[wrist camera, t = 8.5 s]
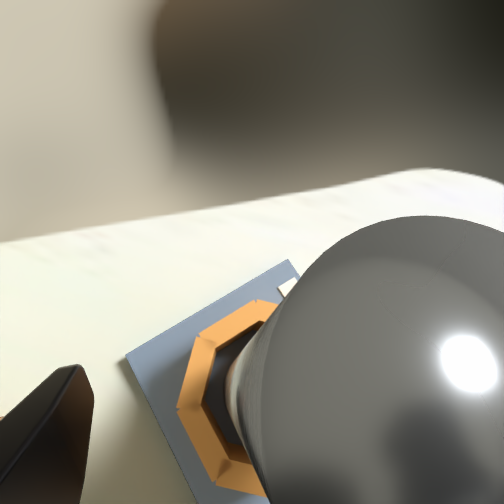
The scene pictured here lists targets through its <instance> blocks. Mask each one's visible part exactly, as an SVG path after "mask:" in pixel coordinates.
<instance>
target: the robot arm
mask: <svg viewBox="0 0 504 504" xmlns="http://www.w3.org/2000/svg"><path fill="white" fill-rule="evenodd" d="M93 408H94V394H93V391H92V388H91V385H90V383H89V380H88V378H87V375H86V373H85V370H84V368H83V367H82V366H81V365H79V364H75V365H70V366H64V367H60V368H58V369H57V370H55V371H54V372H53V373H52V374H51V375H50V376H49V377H48V378H46V379H45V380H44V381H43V382H42V383H41V384H40V385H39V386H38V387H37V388H35V389H34V390H33V391H32V392H31V393H30V394H29V395H28V396H27V397H26V398H24V399H23V400H22V401H21V402H20V403H19V404H18V405H17V406H16V407H15V408H13V409H12V410H11V411H10V412H9V413H8V414H7V415H6V416H5V417H3V418H2V419H1V420H0V504H79V503H80V498H81V494H82V489H83V484H84V479H85V472H86V465H87V457H88V449H89V441H90V433H91V424H92V416H93Z"/></svg>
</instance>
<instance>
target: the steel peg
mask: <svg viewBox="0 0 504 504" xmlns="http://www.w3.org/2000/svg"><path fill="white" fill-rule="evenodd" d="M223 397H224V402H225V406H226V408H227V411H228V413H229V415H230V417H231V420H232V422H233V424H234V426H235V428H236V430H237V433H238V435H239V437H240V439H241V441H242V444H243V446H244V448H245V450H246V452H247V454H248V457H249V459H250V461H251V463H252V465H253V468H254V470H255V472H256V474H257V476H258V478H259V481H260V483H261V485H262V487H263V489H264V492H265V494H266V496H267V498H268V500H269V502H270V504H504V233H503V232H501V231H498V230H496V229H493V228H491V227H488V226H484V225H481V224H477V223H474V222H470V221H467V220H461V219H455V218H449V217H441V216H410V217H400V218H395V219H390V220H386V221H381V222H378V223H375V224H373V225H370V226H367V227H364V228H362V229H359V230H358V231H356V232H354V233H352V234H350V235H348V236H346V237H344V238H343V239H341V240H340V241H338V242H337V243H336V244H334V245H333V246H332V247H330V248H329V249H328V250H326V251H325V252H324V253H323V254H322V255H321V256H320V257H319V258H318V259H317V260H316V261H315V262H314V263H313V264H312V265H311V266H310V267H309V268H308V269H307V270H306V271H305V273H304V274H303V275H302V276H301V278H300V279H299V280H298V281H297V283H296V284H295V285H294V286H293V288H292V289H291V290H290V291H289V293H288V294H287V295H286V296H285V298H284V299H283V300H282V301H281V303H280V304H279V305H278V306H277V308H276V309H275V310H274V311H273V313H272V314H271V315H270V316H269V318H268V319H267V320H266V321H265V323H264V324H263V325H262V326H261V328H260V329H259V330H258V331H257V333H256V334H255V335H254V336H253V338H252V339H251V340H250V341H249V343H248V344H247V345H246V346H245V348H244V349H243V350H242V351H241V353H240V354H239V355H238V356H237V358H236V359H235V360H234V361H233V363H232V364H231V365H230V367H229V369H228V371H227V373H226V376H225V379H224V384H223Z"/></svg>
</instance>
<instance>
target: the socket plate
mask: <svg viewBox="0 0 504 504" xmlns="http://www.w3.org/2000/svg"><path fill="white" fill-rule="evenodd" d="M300 278H301V277H300V276H299V274H298V273H297V271H296V270H295V269H294V267H293V266H292V264H291V263H290V261H289V260H288V259H287V260H285V261H283V262H282V263H280V264H278V265H276V266H275V267H273V268H271V269H270V270H268V271H266V272H265V273H263V274H261V275H260V276H258V277H256V278H254V279H253V280H251V281H249V282H248V283H246V284H244V285H243V286H241V287H239V288H238V289H236V290H234V291H232V292H231V293H229V294H227V295H226V296H224V297H222V298H221V299H219V300H217V301H216V302H214V303H212V304H210V305H209V306H207V307H205V308H204V309H202V310H200V311H199V312H197V313H195V314H194V315H192V316H190V317H188V318H187V319H185V320H183V321H182V322H180V323H178V324H177V325H175V326H173V327H171V328H170V329H168V330H166V331H165V332H163V333H161V334H160V335H158V336H156V337H155V338H153V339H151V340H149V341H148V342H146V343H144V344H143V345H141V346H139V347H138V348H136V349H134V350H133V351H131V352H129V353H127V354H126V358H127V360H128V362H129V364H130V366H131V368H132V370H133V372H134V374H135V376H136V378H137V380H138V382H139V384H140V386H141V388H142V390H143V392H144V394H145V396H146V398H147V401H148V403H149V405H150V407H151V409H152V411H153V413H154V415H155V417H156V419H157V421H158V423H159V425H160V427H161V429H162V431H163V433H164V435H165V437H166V439H167V441H168V443H169V446H170V448H171V450H172V452H173V454H174V456H175V458H176V460H177V462H178V464H179V466H180V468H181V470H182V472H183V474H184V476H185V478H186V480H187V482H188V484H189V486H190V489H191V491H192V493H193V495H194V497H195V499H196V501H197V503H198V504H270V502H269V500H268V498H267V496H266V494H265V492H264V489H263V487H262V485H261V483H260V481H259V478H258V476H257V474H256V472H255V470H254V468H253V465H252V463H251V461H250V459H249V457H248V454H247V452H246V450H245V448H244V446H243V444H242V441H241V439H240V437H239V435H238V433H237V430H236V428H235V426H234V424H233V422H232V420H231V417H230V415H229V413H228V411H227V408H226V406H225V402H224V397H223V384H224V379H225V376H226V373H227V371H228V369H229V367H230V365H231V364H232V363H233V361H234V360H235V359H236V358H237V356H238V355H239V354H240V353H241V351H242V350H243V349H244V348H245V346H246V345H247V344H248V343H249V341H250V340H251V339H252V338H253V336H254V335H255V334H256V333H257V331H258V330H259V329H260V328H261V326H262V325H263V324H264V323H265V321H266V320H267V319H268V318H269V316H270V315H271V314H272V313H273V311H274V310H275V309H276V308H277V306H278V305H279V304H280V303H281V301H282V300H283V299H284V298H285V296H286V295H287V294H288V293H289V291H290V290H291V289H292V288H293V286H294V285H295V284H296V283H297V281H298V280H299V279H300Z"/></svg>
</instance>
